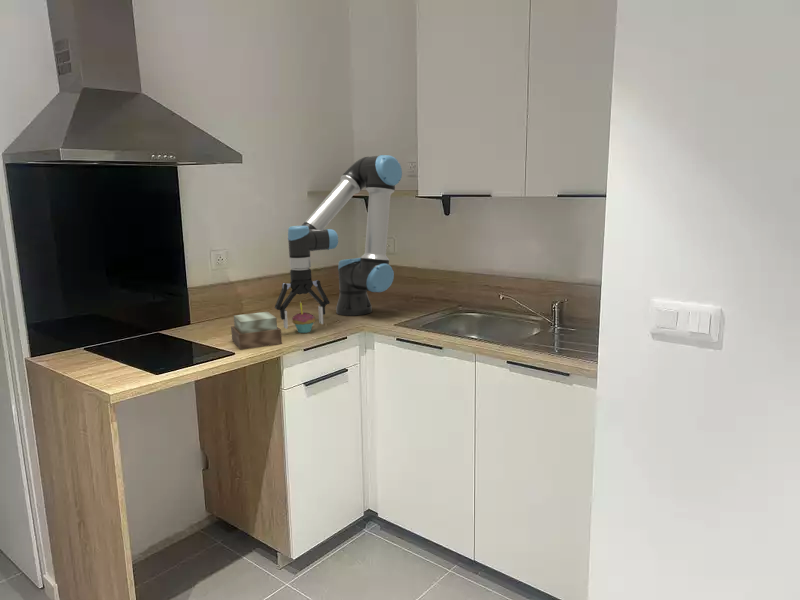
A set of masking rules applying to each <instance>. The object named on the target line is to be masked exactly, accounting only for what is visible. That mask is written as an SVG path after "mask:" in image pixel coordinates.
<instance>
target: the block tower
mask: <svg viewBox="0 0 800 600" xmlns="http://www.w3.org/2000/svg"><path fill="white" fill-rule="evenodd" d="M233 323H234V325H233V326H230V328H231V331H230V332H231V340H233V341H232V342H233V343H234V344H235V345H236V346H237V348H240V349H239V350H247V349H254V348H259V347H267V346H268V345H269V346H274V345H275V346H276V345H281V344H283V343H282V342H283V341H282V339H283V338H282V329H281V328H279V326H278V321H277V317H276V316H275V315H274V314H272V313H270V312H269V311H263V312H256V313H255V312H254V313H246V314H245V313H243V314H237V315H233Z"/></svg>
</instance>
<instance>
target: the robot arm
mask: <svg viewBox="0 0 800 600" xmlns="http://www.w3.org/2000/svg"><path fill="white" fill-rule="evenodd" d="M402 176H403V170H402V166H401V163H400V162H399V161H398V159H397V158H396V157H394V156H392V155H388V154H387V155H385V154H380V155H375V156H374V155H373V156H364V157H361V158H359V159H358V160H356V161H355V162H353V164H351V165H350V167H348V169H346V171H344V173H343V174H342V175H341V176H340V179H339V180H340V181H339V182H338V183H337V184H336V186H335V187H334V188H333V189H331V191H330V193H329V194H327V196H326V197H325V198H324V199H323V201H321V203H320V204H319V205H318V206H317V207H316V209H315V210H314V211H313V212H312V213H311V214H310V216H309V217H308V218H307V219H306V220H305V221H304V222H303V223H302V224H301V225H293V226H292V225H291V226H289V227H288V229H287V240H288V253H289V255H288V256H289V268H290V270H289V272H290V274H289V275H290V283H286V282H283V283H282V285H281V291H280V292H279V293H280V294H279V296H278V298H277V301H276V302H275V305H274V308H275V309H276V310H277V311H279V313H280V319H281V320H283V328H285V329H286V330H287V329H289V325H288V311H287V310H286V309H287V307H288V306H289V305H290V304H291V302H292V300H293V299H294V298H295V297H296V295H306V294H309V295H310V296H311V297H312V298H313V299H314V300H315V301H316V302H317V303H318V304H319V305H317V306H318V309H317V311H318V323H319V324H321V325H324V315H325V314H326V306H327V305H329V304H331V303H330V300H329V298H328V296H327V295H326V293H325V291H324V290H323V287H322V286H321V285H322V284H321V280H318V279H315V280H313V279H312V269H311V268H312V264H311V263H312V262H311V252H314V251H329V250H332V249H333V250H334V249H335V248H336V247H338V244H339V236H338V235H339V234H338V233H337V231H336V230H334V229H331V228H329V229H328V228H327V226H328V225H329V224H330V222H331V221H332V220H333V219H334V218H335V217H337V215H338V213H340V211H341V210H342V209H343V208H344V207H345V205H346V204H347V203H348V201H350V200H351V199H352V197H353V196H354V195H355V194H359V193H360V192H361V191H362V189H364V188H365V190H366V191H367V193H368V201H367V203H368V206H367V220H366V231H365V245H364V246H365V247H364V254H362V255H361V256H360V257H356V258H355V257H353V258H348V259H346V258H345V259H341V260H339V261H338V264H337V265H338V268H337V270H338V286H339V296H338V300H337V304H336V307H335V310H336V311H335V312H336V314H337V315H340V316H363V315H367V314H370V313H372V311H373V310H372V307H373V306H372V304H371V301H370V299H369V295H368V291H369V292H371V293H382V292H386V290H388V289H389V288H390V287H391V286H392V284H393V282H394V278H395V275H394V273H395V271H394V270H393V267H392V266H391V265H390V258H388V256H387V248H388V247H387V245H388V233H389V231H388V230H389V218H390V217H389V216H390V207H391V195H392V194H393V193H395V190H396V185H398V184H399V183H400V182H401V180H402ZM313 286H314V287H316V290H317V292H318V293H319V294H320V296H321V297H320V296H318V295H317V294H316V292H315V291H314V290H312V288H313ZM290 288H291V290H290V292H289V294H288V296H286V295H287V292H288V290H289V289H290ZM285 296H286V299H285ZM321 298H322V299H321ZM284 299H285V300H284Z"/></svg>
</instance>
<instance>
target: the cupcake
mask: <svg viewBox="0 0 800 600" xmlns="http://www.w3.org/2000/svg"><path fill="white" fill-rule="evenodd" d="M299 307H300V312H299V313H296V314H294V315H293V317H292V319H291V321H292V323H293V324H294V325H295V328H296V331H297V332H298V333H300V334H307V333H310V332H312V328H313V325H314V323H315V322H316V317H315V315H314V314H312V313H309V312H305V311H304V312H303V304H302V302H301V300H300V301H299Z"/></svg>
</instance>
